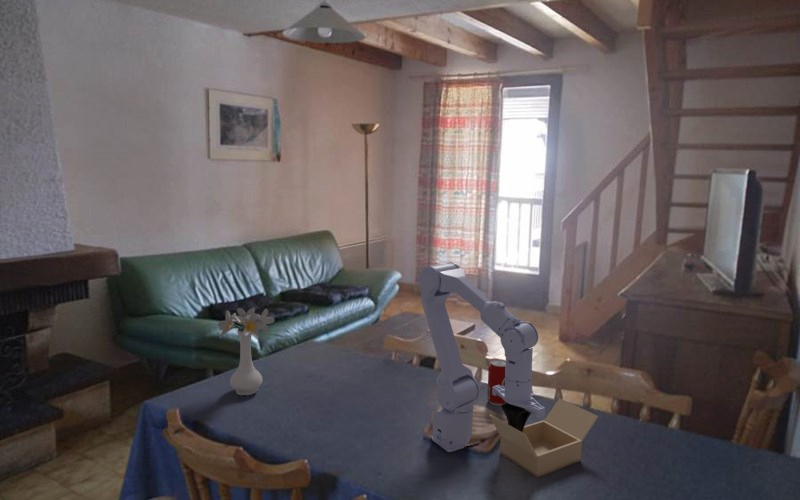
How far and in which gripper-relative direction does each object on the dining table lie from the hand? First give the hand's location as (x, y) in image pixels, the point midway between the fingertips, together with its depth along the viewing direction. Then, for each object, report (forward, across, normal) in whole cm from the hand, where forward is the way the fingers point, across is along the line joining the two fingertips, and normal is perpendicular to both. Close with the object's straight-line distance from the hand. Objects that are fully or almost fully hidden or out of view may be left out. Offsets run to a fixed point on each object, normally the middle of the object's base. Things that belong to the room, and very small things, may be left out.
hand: (516, 435), depth 123 cm
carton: (+8, 0, -8) cm, 11 cm away
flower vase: (+7, +72, +40) cm, 83 cm away
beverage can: (+8, +28, -20) cm, 35 cm away
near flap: (0, 0, +1) cm, 1 cm away
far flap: (0, 0, -18) cm, 18 cm away
